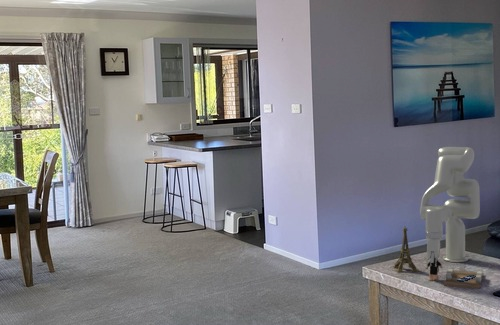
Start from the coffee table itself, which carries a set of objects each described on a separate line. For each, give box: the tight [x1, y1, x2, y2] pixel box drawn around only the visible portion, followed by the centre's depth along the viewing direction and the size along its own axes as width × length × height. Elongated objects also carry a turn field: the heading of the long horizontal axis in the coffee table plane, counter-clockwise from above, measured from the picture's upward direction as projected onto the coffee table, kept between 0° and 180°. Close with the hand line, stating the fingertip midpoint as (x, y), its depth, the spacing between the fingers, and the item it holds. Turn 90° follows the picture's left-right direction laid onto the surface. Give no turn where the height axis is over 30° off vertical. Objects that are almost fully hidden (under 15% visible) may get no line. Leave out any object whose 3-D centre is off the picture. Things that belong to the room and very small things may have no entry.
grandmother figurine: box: [425, 259, 443, 282], centre depth 297 cm, size 8×4×13 cm, turn 102°
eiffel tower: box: [391, 227, 420, 273], centre depth 316 cm, size 11×11×25 cm
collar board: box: [443, 267, 484, 290], centre depth 295 cm, size 22×15×4 cm
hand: (434, 273), depth 298 cm, fingers closed on grandmother figurine, 3 cm apart
